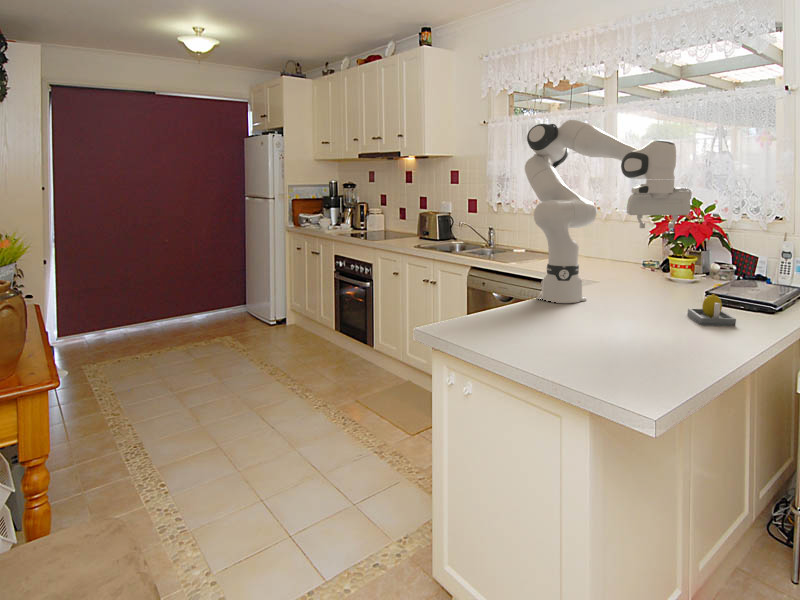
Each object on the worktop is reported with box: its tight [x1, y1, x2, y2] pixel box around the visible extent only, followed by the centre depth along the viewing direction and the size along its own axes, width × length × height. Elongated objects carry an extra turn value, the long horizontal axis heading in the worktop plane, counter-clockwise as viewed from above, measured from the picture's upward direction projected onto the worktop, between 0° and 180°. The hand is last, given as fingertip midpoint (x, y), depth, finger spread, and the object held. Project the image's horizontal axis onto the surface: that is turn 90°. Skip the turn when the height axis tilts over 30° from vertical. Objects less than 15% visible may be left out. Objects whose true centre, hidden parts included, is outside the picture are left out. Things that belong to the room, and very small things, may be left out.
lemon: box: [701, 293, 723, 318], centre depth 181 cm, size 6×6×8 cm
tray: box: [686, 296, 737, 327], centre depth 181 cm, size 14×10×7 cm
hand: (656, 228), depth 194 cm, fingers open, 8 cm apart
